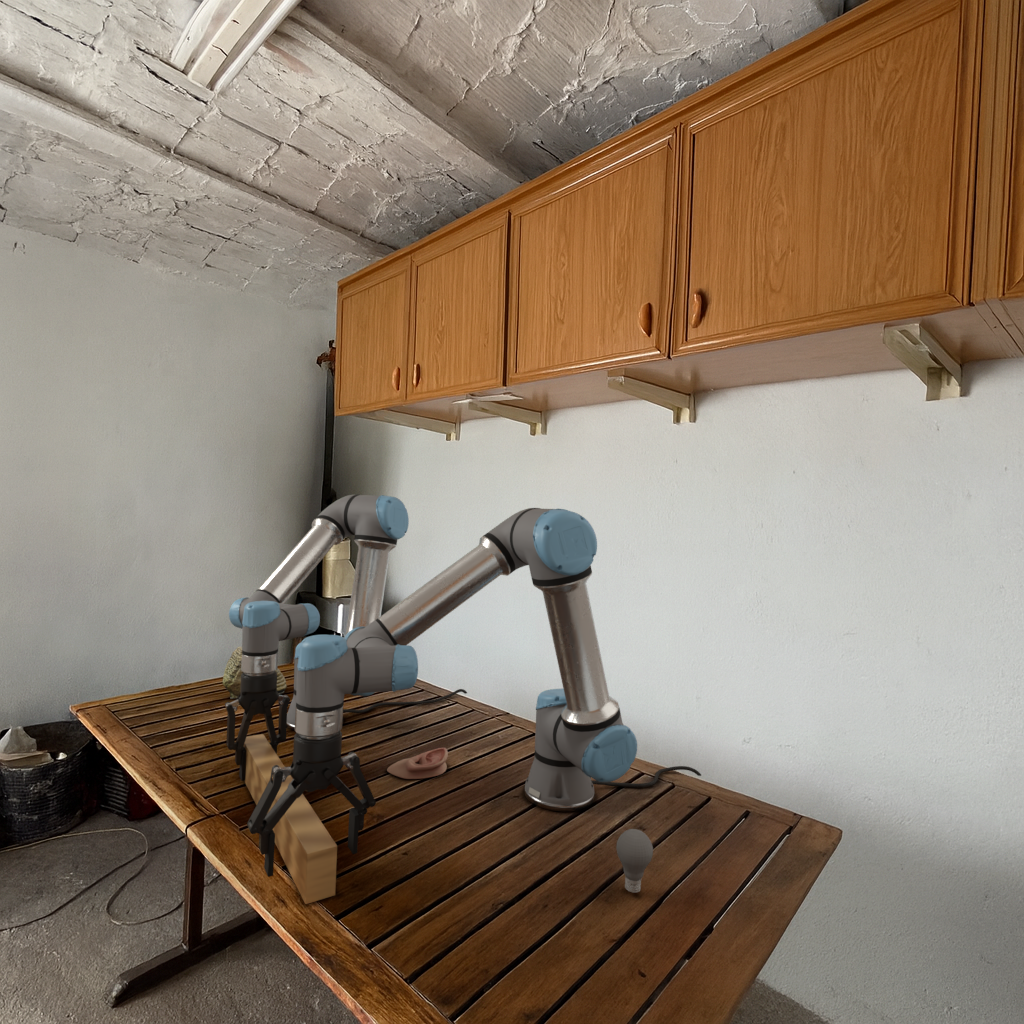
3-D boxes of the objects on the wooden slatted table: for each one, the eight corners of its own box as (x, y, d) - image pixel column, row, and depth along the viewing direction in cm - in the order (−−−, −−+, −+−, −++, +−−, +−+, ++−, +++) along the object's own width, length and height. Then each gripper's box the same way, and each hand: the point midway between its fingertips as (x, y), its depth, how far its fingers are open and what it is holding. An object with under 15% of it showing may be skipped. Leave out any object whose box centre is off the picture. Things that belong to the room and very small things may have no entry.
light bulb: (610, 879, 108) (613, 822, 108) (644, 879, 109) (647, 822, 109) (619, 902, 102) (622, 840, 102) (655, 901, 103) (658, 840, 103)
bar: (239, 772, 144) (241, 737, 143) (261, 768, 146) (263, 733, 146) (305, 904, 99) (307, 853, 99) (335, 895, 101) (337, 845, 101)
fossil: (218, 695, 195) (220, 647, 195) (278, 685, 208) (279, 640, 207) (228, 703, 189) (230, 653, 188) (289, 692, 201) (290, 645, 201)
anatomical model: (382, 758, 144) (400, 740, 156) (381, 775, 145) (400, 756, 156) (437, 765, 142) (452, 746, 153) (436, 783, 142) (451, 763, 153)
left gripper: (218, 681, 133) (214, 791, 133) (304, 671, 142) (300, 774, 143) (212, 672, 139) (209, 777, 139) (295, 663, 149) (292, 761, 149)
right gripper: (241, 752, 93) (234, 895, 94) (398, 727, 107) (392, 852, 107) (232, 735, 100) (225, 869, 100) (382, 714, 113) (376, 831, 114)
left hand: (255, 775), depth 141 cm, fingers closed on bar, 5 cm apart
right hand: (311, 860), depth 104 cm, fingers open, 13 cm apart
